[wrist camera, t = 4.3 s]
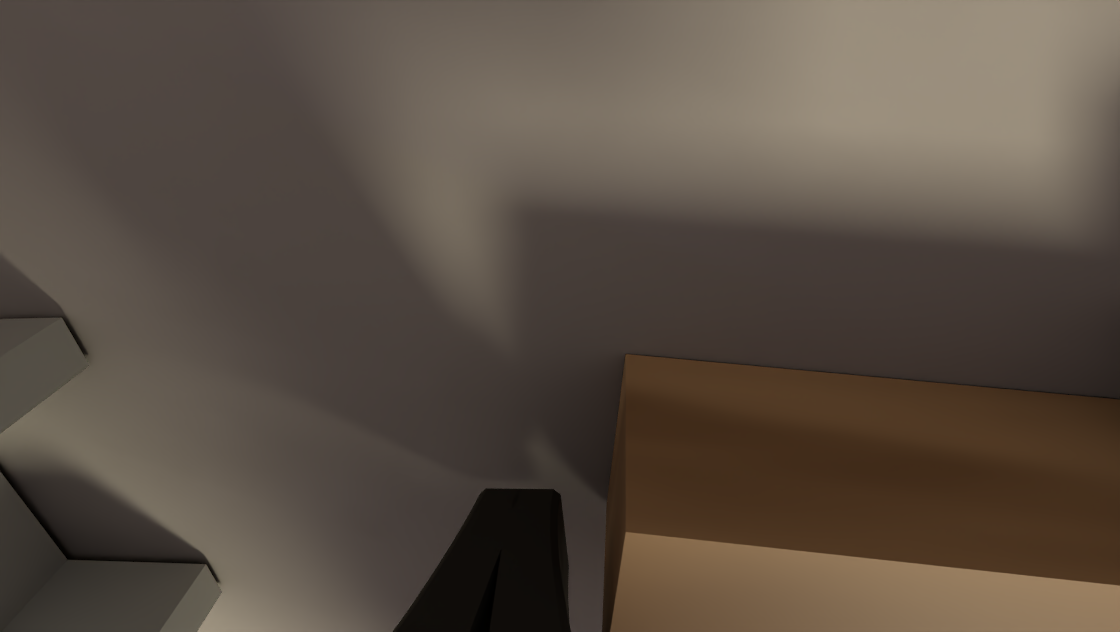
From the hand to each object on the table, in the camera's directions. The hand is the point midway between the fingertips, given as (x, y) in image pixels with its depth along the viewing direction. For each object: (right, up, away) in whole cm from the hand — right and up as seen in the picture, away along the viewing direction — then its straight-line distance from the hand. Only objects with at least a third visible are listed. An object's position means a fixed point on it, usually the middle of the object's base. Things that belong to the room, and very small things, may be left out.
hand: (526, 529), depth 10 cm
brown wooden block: (+7, +1, 0) cm, 7 cm away
